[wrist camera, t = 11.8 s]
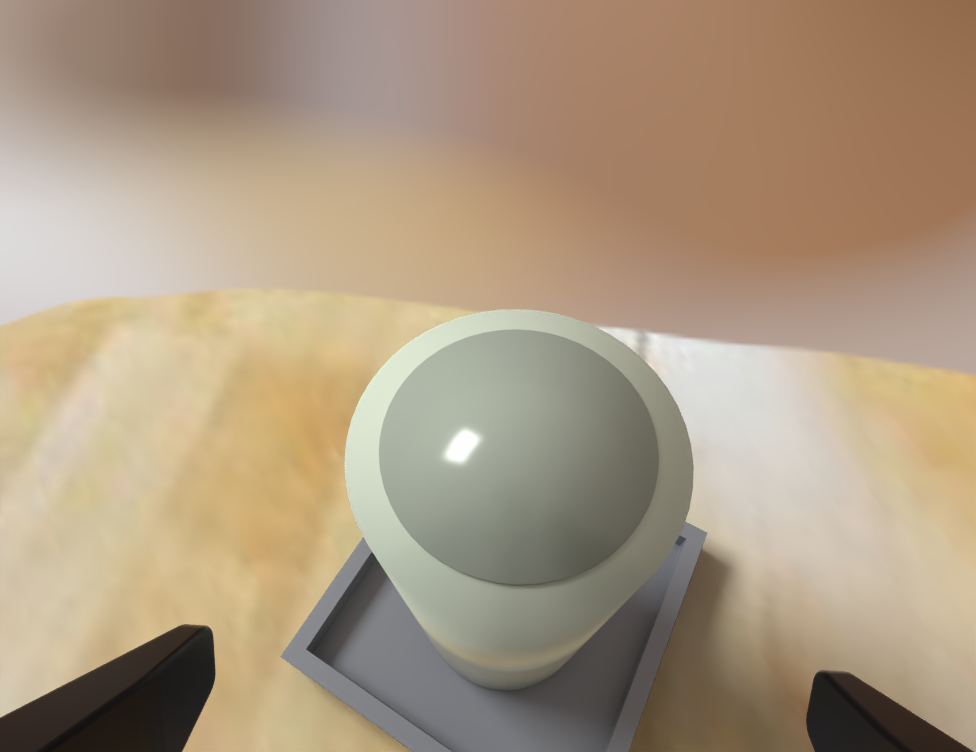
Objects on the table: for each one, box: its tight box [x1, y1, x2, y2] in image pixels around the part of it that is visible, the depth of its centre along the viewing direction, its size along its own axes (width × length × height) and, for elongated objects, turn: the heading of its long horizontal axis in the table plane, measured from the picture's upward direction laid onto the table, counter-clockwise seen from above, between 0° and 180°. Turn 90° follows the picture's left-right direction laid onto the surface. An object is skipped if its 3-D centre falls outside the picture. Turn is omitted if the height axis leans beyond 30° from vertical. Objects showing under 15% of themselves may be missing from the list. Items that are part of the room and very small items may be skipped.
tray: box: [281, 522, 707, 752], centre depth 21 cm, size 11×11×2 cm
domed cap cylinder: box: [345, 309, 693, 691], centre depth 15 cm, size 6×6×13 cm
